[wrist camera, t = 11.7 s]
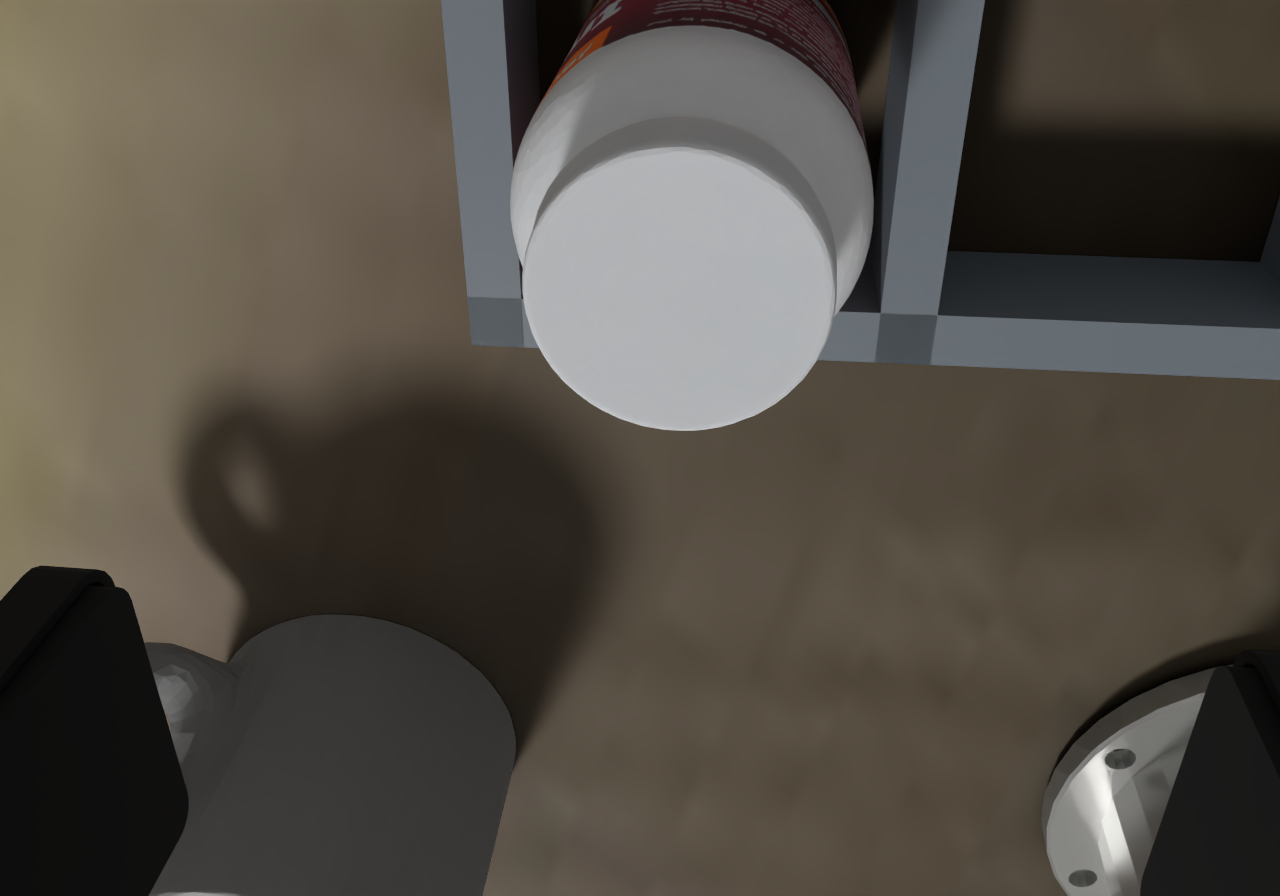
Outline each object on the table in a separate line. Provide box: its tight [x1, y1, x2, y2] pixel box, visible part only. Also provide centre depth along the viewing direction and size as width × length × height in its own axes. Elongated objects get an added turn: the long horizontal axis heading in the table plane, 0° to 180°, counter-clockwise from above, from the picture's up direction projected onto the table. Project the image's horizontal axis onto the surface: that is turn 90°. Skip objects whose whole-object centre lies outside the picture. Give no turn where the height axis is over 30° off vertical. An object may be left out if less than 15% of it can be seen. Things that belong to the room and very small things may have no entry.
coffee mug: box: [144, 614, 516, 896], centre depth 34 cm, size 13×10×10 cm
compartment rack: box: [441, 0, 1280, 380], centre depth 24 cm, size 11×19×4 cm, turn 90°
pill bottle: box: [510, 0, 874, 431], centre depth 22 cm, size 6×6×11 cm
